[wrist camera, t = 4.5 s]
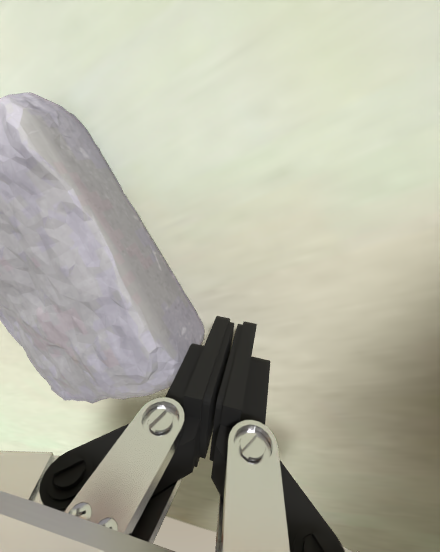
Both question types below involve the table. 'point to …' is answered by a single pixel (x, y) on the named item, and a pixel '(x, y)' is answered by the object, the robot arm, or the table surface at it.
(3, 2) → the table surface
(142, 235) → the stone block
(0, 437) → the table surface
